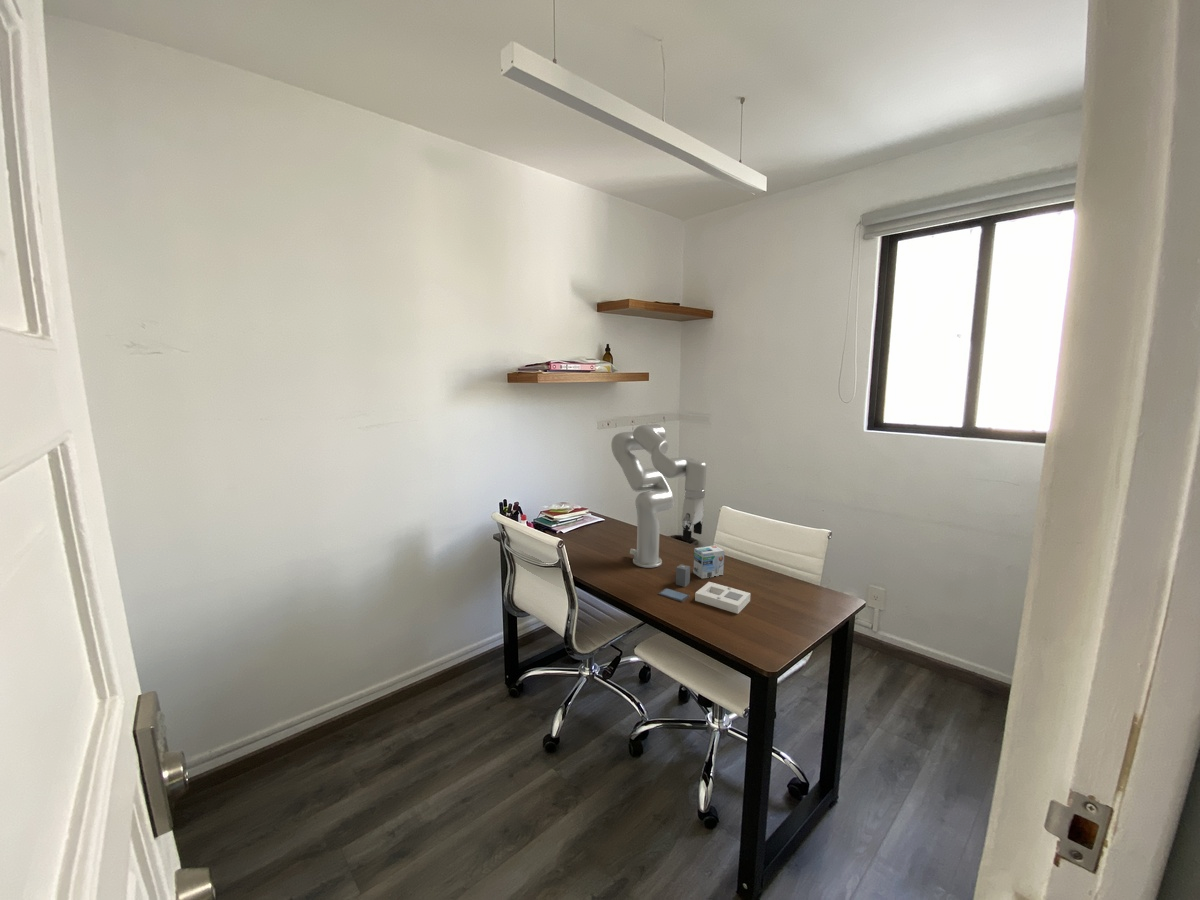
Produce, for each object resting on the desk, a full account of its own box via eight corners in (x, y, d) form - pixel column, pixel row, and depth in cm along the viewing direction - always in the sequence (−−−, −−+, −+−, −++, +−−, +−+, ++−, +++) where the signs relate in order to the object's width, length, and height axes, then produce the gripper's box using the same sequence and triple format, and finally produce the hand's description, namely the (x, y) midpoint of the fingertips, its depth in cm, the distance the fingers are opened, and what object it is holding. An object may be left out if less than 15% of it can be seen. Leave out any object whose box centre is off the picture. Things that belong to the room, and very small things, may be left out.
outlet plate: (694, 600, 173) (695, 592, 172) (708, 588, 183) (709, 581, 182) (737, 613, 164) (738, 605, 163) (750, 601, 173) (750, 592, 173)
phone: (658, 595, 178) (658, 593, 177) (666, 590, 182) (666, 587, 182) (682, 603, 172) (682, 600, 171) (689, 597, 176) (689, 594, 176)
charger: (675, 584, 186) (676, 567, 185) (680, 580, 190) (681, 563, 188) (684, 587, 184) (685, 569, 183) (689, 583, 187) (690, 566, 186)
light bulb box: (701, 579, 191) (703, 553, 190) (692, 572, 197) (693, 547, 196) (723, 575, 195) (725, 550, 194) (714, 569, 201) (715, 544, 200)
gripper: (694, 487, 190) (692, 528, 192) (675, 496, 176) (673, 540, 178) (712, 490, 185) (710, 532, 188) (694, 500, 171) (691, 545, 174)
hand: (692, 536), depth 183 cm, fingers open, 9 cm apart
